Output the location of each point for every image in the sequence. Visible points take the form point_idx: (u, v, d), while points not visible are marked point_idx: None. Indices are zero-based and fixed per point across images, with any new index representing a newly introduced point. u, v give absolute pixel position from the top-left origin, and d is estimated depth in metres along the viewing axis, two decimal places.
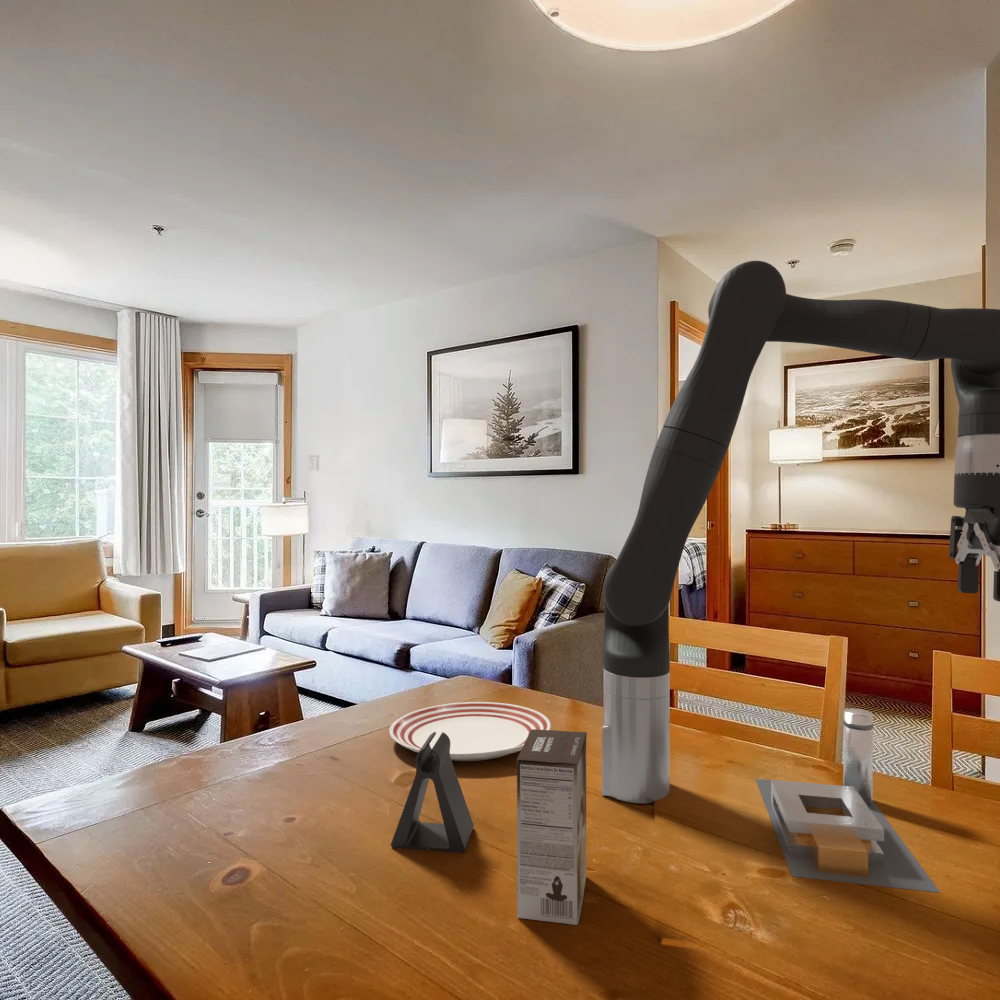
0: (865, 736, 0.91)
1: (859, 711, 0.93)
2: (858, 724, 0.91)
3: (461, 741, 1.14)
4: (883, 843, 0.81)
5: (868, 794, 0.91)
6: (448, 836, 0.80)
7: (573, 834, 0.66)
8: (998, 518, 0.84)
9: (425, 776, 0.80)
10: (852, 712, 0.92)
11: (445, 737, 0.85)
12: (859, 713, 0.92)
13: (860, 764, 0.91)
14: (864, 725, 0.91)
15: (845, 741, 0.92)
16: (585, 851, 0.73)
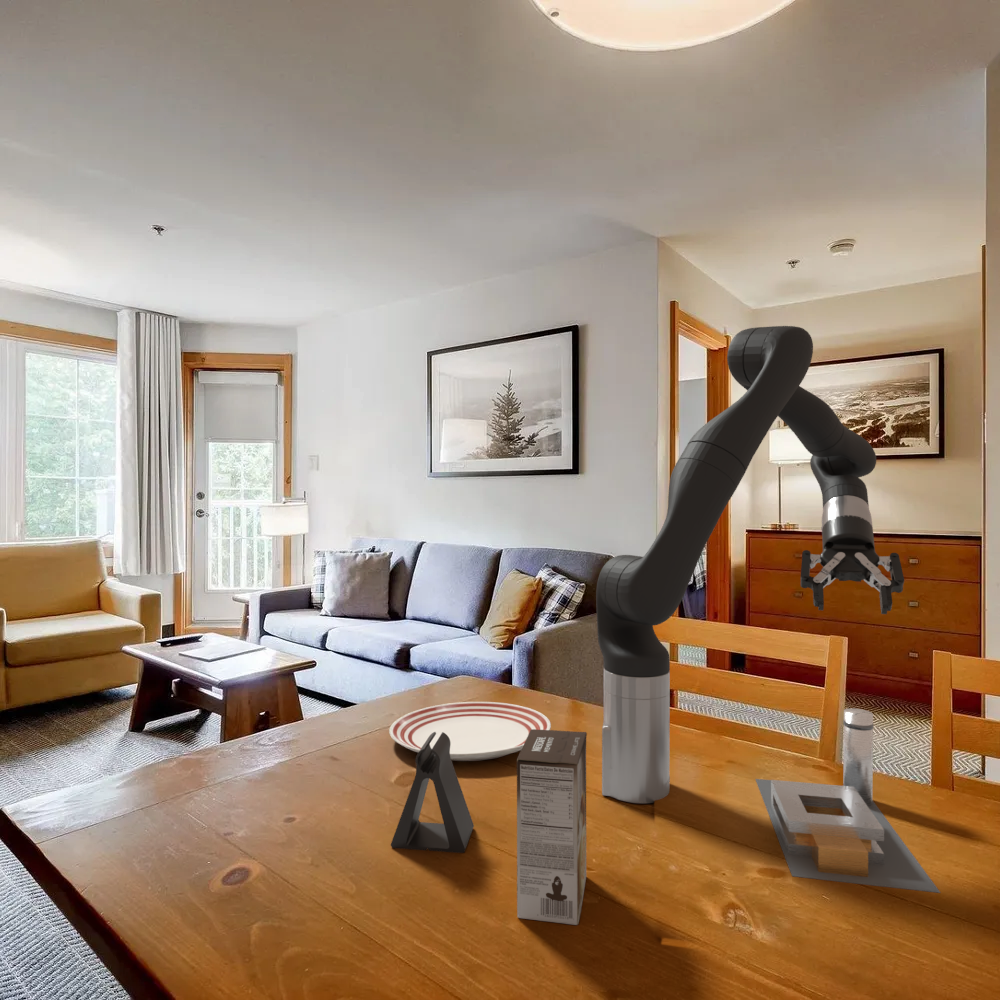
0: (865, 736, 0.91)
1: (859, 711, 0.93)
2: (858, 724, 0.91)
3: (461, 741, 1.14)
4: (883, 843, 0.81)
5: (868, 794, 0.91)
6: (448, 836, 0.80)
7: (573, 834, 0.66)
8: None
9: (425, 776, 0.80)
10: (852, 712, 0.92)
11: (445, 737, 0.85)
12: (859, 713, 0.92)
13: (860, 764, 0.91)
14: (864, 725, 0.91)
15: (845, 741, 0.92)
16: (585, 851, 0.73)
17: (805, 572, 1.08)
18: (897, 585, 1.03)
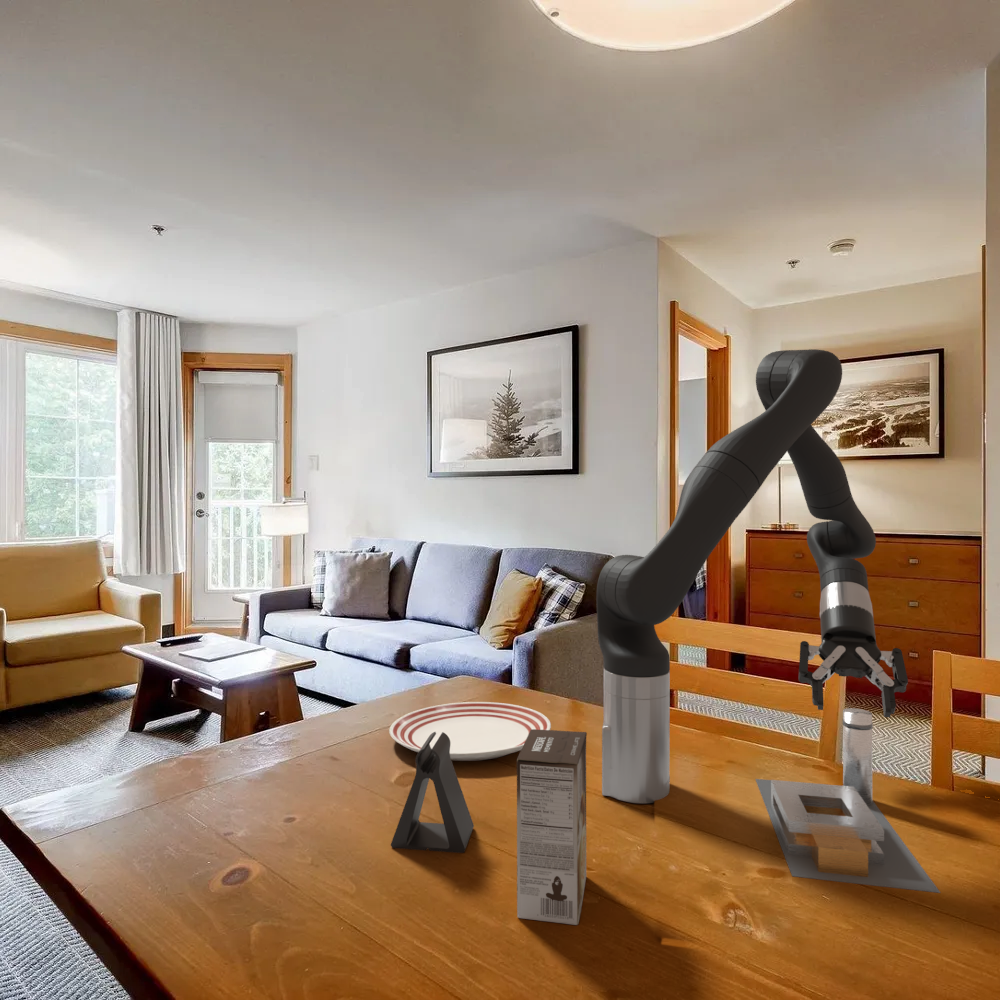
0: (864, 736, 0.91)
1: (858, 711, 0.93)
2: (857, 724, 0.91)
3: (461, 741, 1.14)
4: (883, 843, 0.81)
5: (868, 794, 0.91)
6: (448, 836, 0.80)
7: (573, 834, 0.66)
8: (878, 649, 1.02)
9: (425, 776, 0.80)
10: (851, 712, 0.92)
11: (445, 737, 0.85)
12: (858, 713, 0.92)
13: (859, 764, 0.91)
14: (863, 725, 0.91)
15: (845, 741, 0.92)
16: (585, 851, 0.73)
17: (803, 667, 1.03)
18: (900, 685, 0.97)
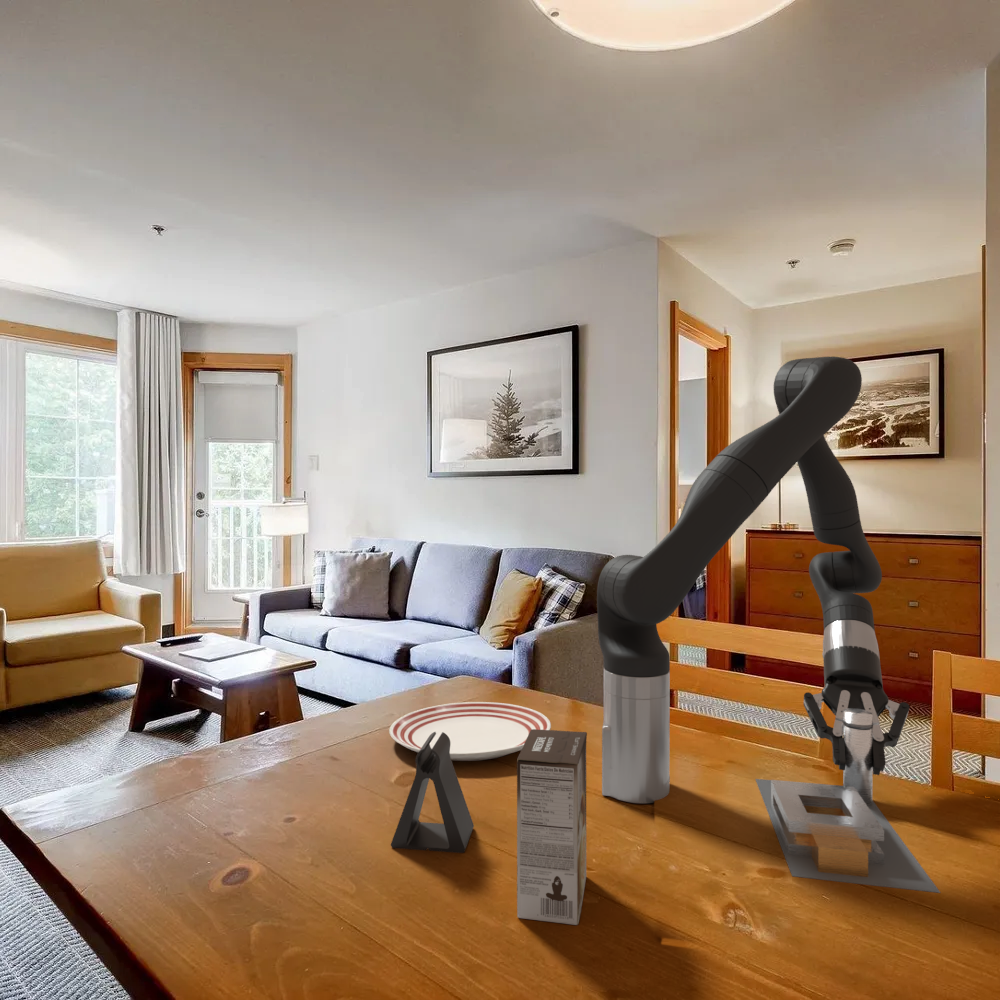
0: (865, 736, 0.91)
1: (859, 711, 0.93)
2: (858, 724, 0.91)
3: (461, 741, 1.14)
4: (883, 843, 0.81)
5: (868, 794, 0.91)
6: (448, 836, 0.80)
7: (573, 834, 0.66)
8: (887, 697, 0.95)
9: (425, 776, 0.80)
10: (852, 712, 0.92)
11: (445, 737, 0.85)
12: (859, 713, 0.92)
13: (860, 763, 0.91)
14: (864, 725, 0.91)
15: (845, 741, 0.92)
16: (585, 851, 0.73)
17: (821, 721, 0.95)
18: (888, 739, 0.92)
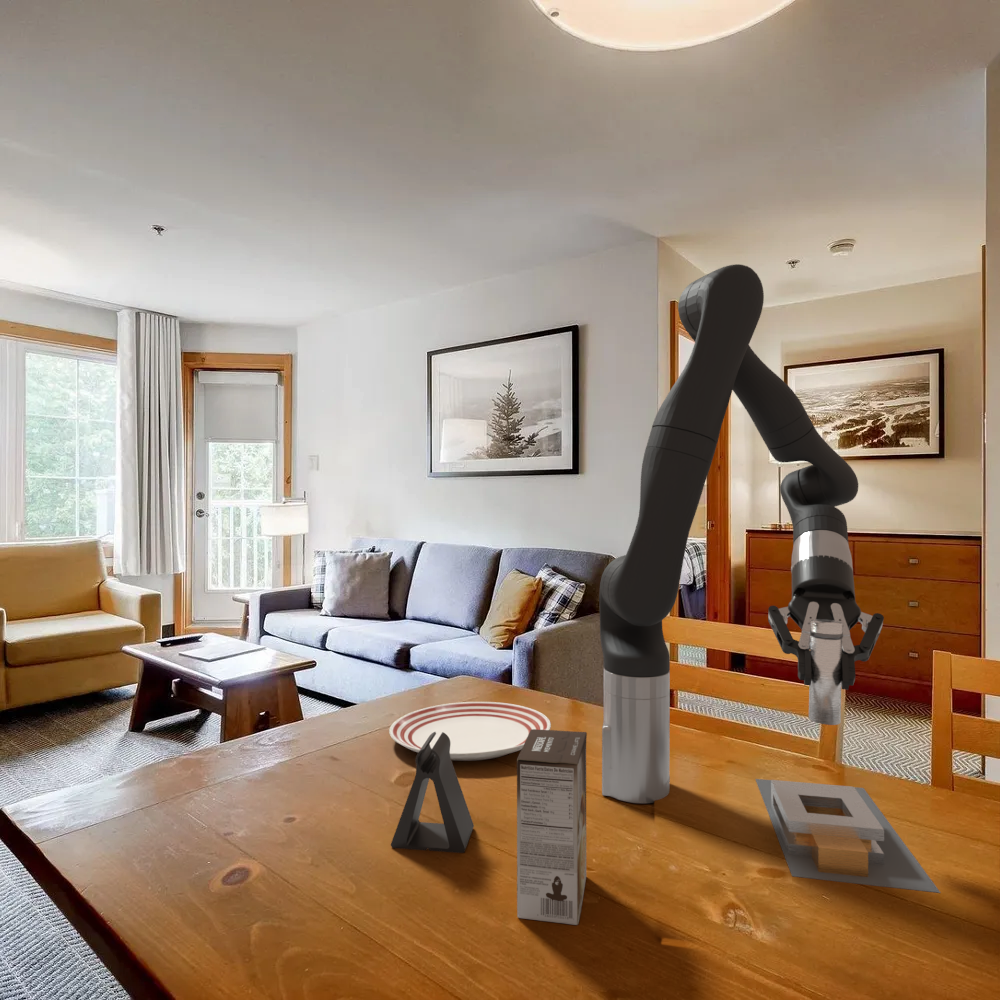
0: (833, 646, 0.81)
1: (828, 621, 0.83)
2: (826, 633, 0.81)
3: (461, 741, 1.14)
4: (883, 843, 0.81)
5: (836, 711, 0.81)
6: (448, 836, 0.80)
7: (573, 834, 0.66)
8: (859, 609, 0.86)
9: (425, 776, 0.80)
10: (820, 621, 0.83)
11: (445, 737, 0.85)
12: (828, 622, 0.82)
13: (827, 677, 0.81)
14: (833, 634, 0.81)
15: (812, 653, 0.83)
16: (585, 851, 0.73)
17: (786, 634, 0.85)
18: (860, 651, 0.82)
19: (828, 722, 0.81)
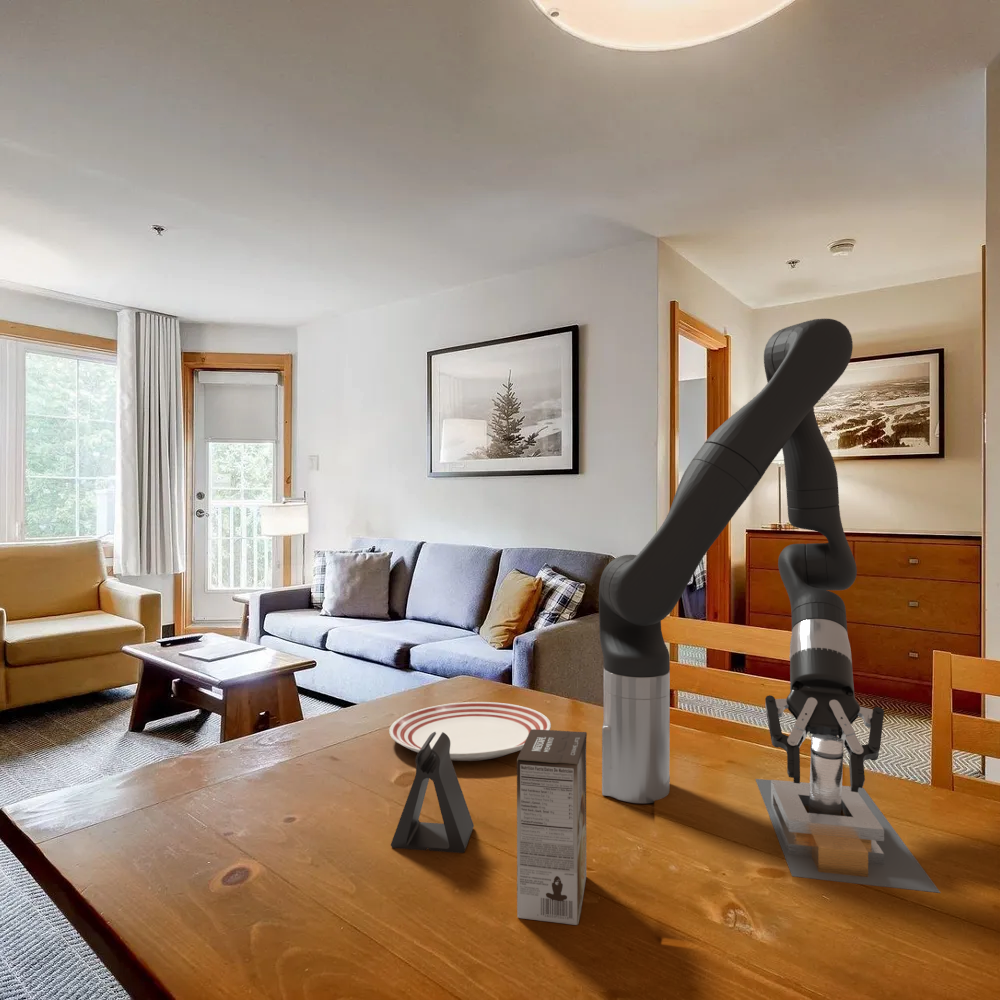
0: (834, 766, 0.80)
1: (829, 737, 0.83)
2: (827, 752, 0.81)
3: (461, 741, 1.14)
4: (883, 843, 0.81)
5: None
6: (448, 836, 0.80)
7: (573, 834, 0.66)
8: (858, 704, 0.85)
9: (425, 776, 0.80)
10: (821, 738, 0.82)
11: (445, 737, 0.85)
12: (828, 740, 0.82)
13: (827, 797, 0.81)
14: (833, 754, 0.80)
15: (812, 771, 0.82)
16: (585, 851, 0.73)
17: (776, 728, 0.85)
18: (870, 752, 0.81)
19: None
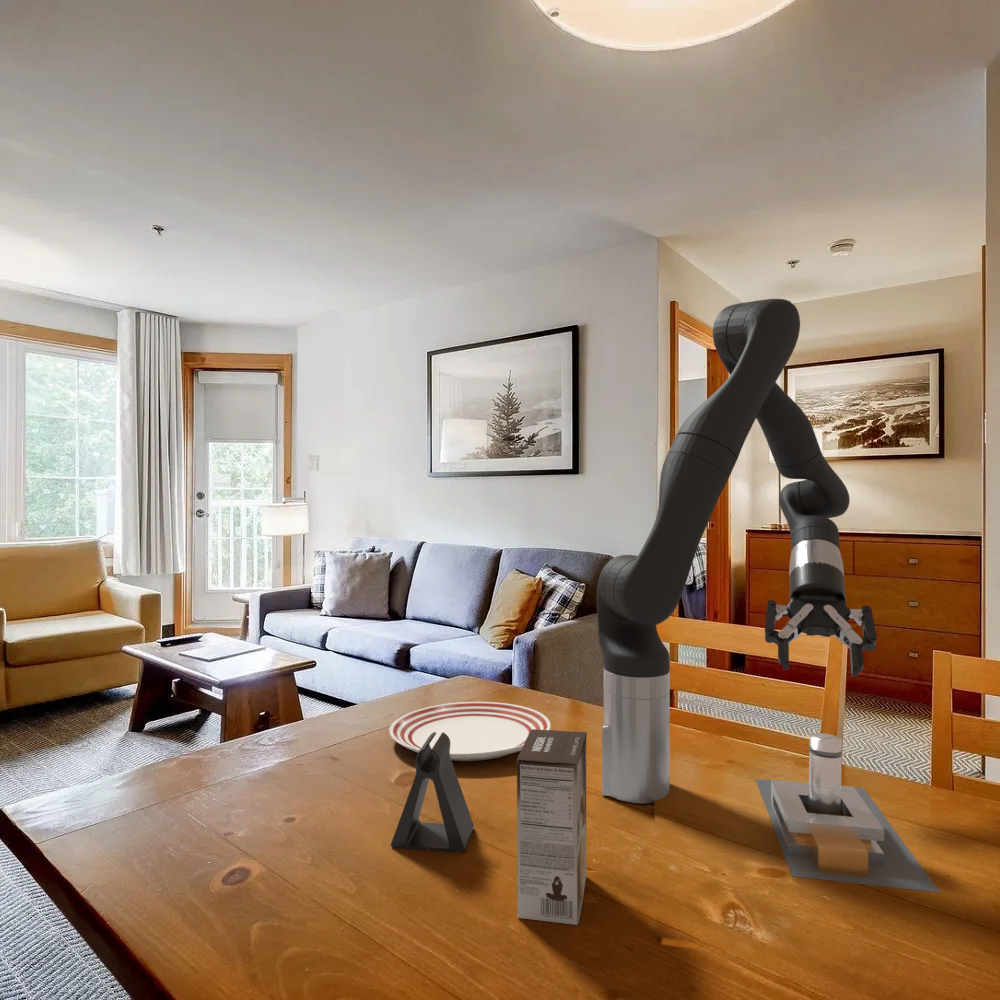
0: (832, 765, 0.81)
1: (827, 736, 0.83)
2: (825, 751, 0.81)
3: (461, 741, 1.14)
4: (883, 843, 0.81)
5: None
6: (448, 836, 0.80)
7: (573, 834, 0.66)
8: (848, 607, 0.97)
9: (425, 776, 0.80)
10: (819, 737, 0.82)
11: (445, 737, 0.85)
12: (827, 738, 0.82)
13: (826, 796, 0.81)
14: (832, 752, 0.81)
15: (811, 770, 0.82)
16: (585, 851, 0.73)
17: (770, 626, 0.98)
18: (869, 643, 0.93)
19: None
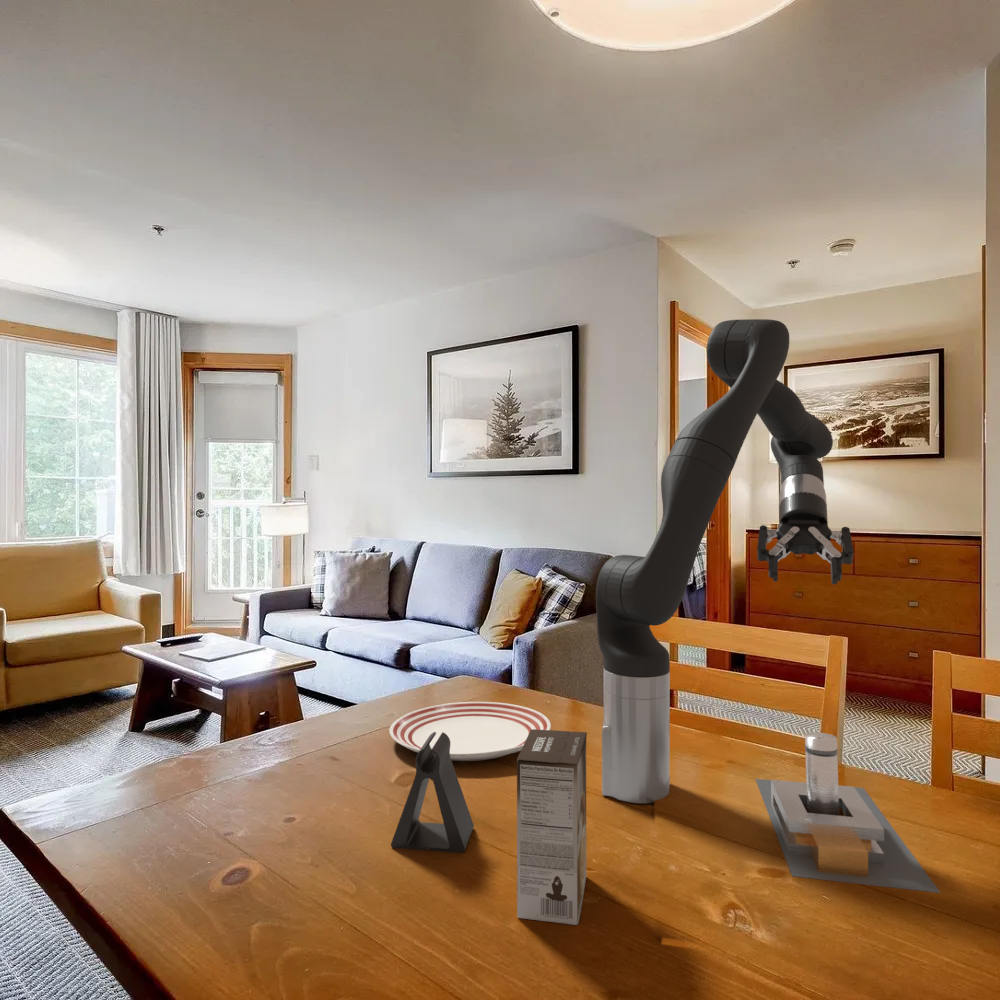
0: (829, 763, 0.81)
1: (822, 735, 0.83)
2: (821, 750, 0.81)
3: (461, 741, 1.14)
4: (883, 843, 0.81)
5: None
6: (448, 836, 0.80)
7: (573, 834, 0.66)
8: (829, 529, 1.12)
9: (425, 776, 0.80)
10: (814, 736, 0.83)
11: (445, 737, 0.85)
12: (822, 737, 0.82)
13: (825, 795, 0.81)
14: (828, 751, 0.81)
15: (808, 770, 0.83)
16: (585, 851, 0.73)
17: (761, 545, 1.13)
18: (847, 557, 1.07)
19: None
